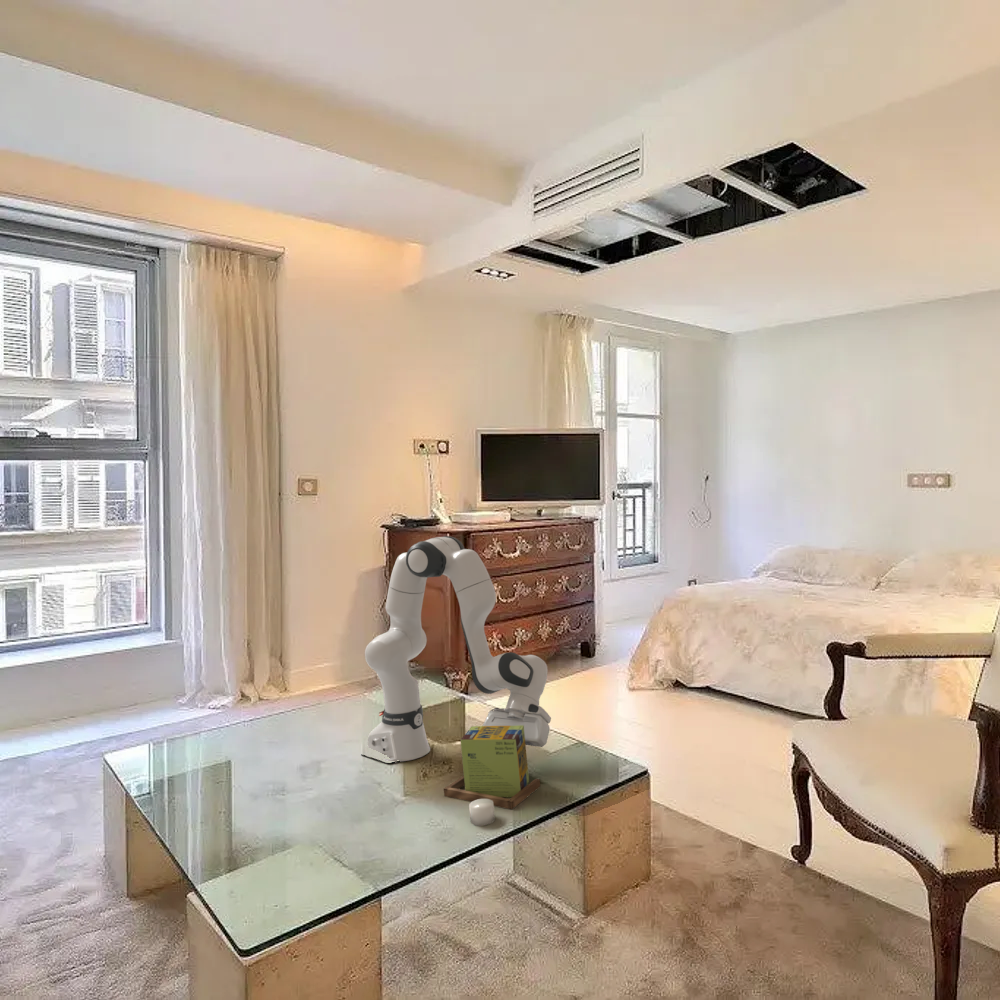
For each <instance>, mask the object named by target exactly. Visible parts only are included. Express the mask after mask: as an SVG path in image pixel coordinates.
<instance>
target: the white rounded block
mask: <svg viewBox="0 0 1000 1000" xmlns="http://www.w3.org/2000/svg"><path fill="white" fill-rule="evenodd" d="M468 809H469V818H470V819H469V820H470V824H472V825H474V826H477V827H478V826H479V827H482V825H484V826H488V825H491V824H492V823H493V822H495V820H496V818H495V817H496V814H495V806H494V803H493V801H492V800H490V799H477V800H474V801H470V803H469V804H468ZM487 824H488V825H487Z"/></svg>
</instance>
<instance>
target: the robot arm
mask: <svg viewBox="0 0 1000 1000" xmlns="http://www.w3.org/2000/svg"><path fill="white" fill-rule="evenodd" d="M441 576H445V577H447V578H448V579H449V580H450V582H451V584H452V586H453V589H454V592H455V595H456V598H457V601H458V605H459V609H460V622H461V623H460V624H461V628H462V631H463V636H464V639H465V644H466V648H467V651H468V654H469V658H470V663H471V675H472V676H471V677H472V680H473V683H474V686H475V687H476V688H477V689H478V691H480V692H481V693H483V694H485V695H486V694H487V695H489V694H490V695H491V694H495V693H496V692H497V693H498V692H499V691H501V690H505V689H506V690H509V691H510V693H509V696H508V700H507V703H506V706H505V708H503V707H502V708H500V707H494V708H492V709H491V710H489V711H488V714H487V716H486V718H485V720H484V722H483V723H482V726H518V725H523V726H524V735H525V745H526V746H532V747H539V748H543V747H544V746H545V745H547V742H548V738H549V735H550V734H549V733H550V725H549V724H550V723H551V721H552V717H551V716H550V714H549V713H548V712H547V711H546V710H545V709H544V708H543V707H542V706H540V698H541V696H542V695H543V693H544V691H545V687H546V683H547V679H548V673H549V671H548V665H547V663H546V661H545V660H544V659H542V658H541V657H539V656H538V655H534V654H526V655H520V654H518V653H516V652H513V651H509V652H504V653H500V654H497V655H496V656H493V655H492V654H491V650H490V648H489V643H488V641H487V640H488V639H487V636H486V633H485V623H486V620H487V618H488V616H489V615H490V613H491V612H492V611H493V609H494V607H495V605H496V601H497V593H496V589H495V586H494V584H493V581H492V578H491V576H490V574H489V572H488V569H487V567H486V566H485V563H484V562H483V560H482V559H481V557H480V555H479V553H478V552H476V551H475V550H473V549H469V548H468V549H467V548H465V546H464V544H463V543H462V541H460V540H459V539H458V538H456V537H454V536H448V535H447V536H446V535H444V536H436V537H431V538H429V539H426V540H423V541H422V540H421V541H418V542H416V543H414V544H413V545H412V546H410V548H409V549H408V550H407V552H402V553H401V554H399V555H398V556H397V558H396V560H395V563H394V565H393V568H392V571H391V575H390V578H389V585H388V590H387V596H386V602H385V606H384V607H385V612H386V614H387V615H388V616H389V621H390V623H389V625H390V626H389V629H388V630H387V631H386V632H384V633H381V634H379V635H376V637H373V639H372V640H371V641H370V642H369V643H368V644H367V645H366V647H365V649H364V659H365V662H366V663H367V665H368V667H370V668H369V669H372V670H373V671H374V672H375V673H376V675H377V676H378V678H379V681H380V684H381V687H382V693H383V695H382V696H383V701H384V703H383V704H384V709H383V710H382V711H379V715H378V716H379V717H382V719H381V722H379V724H377V725H376V726H375V727H374V728H372V730H371V731H370V732H369V734H368V736H367V746H368V748H371V749H373V750H376V751H378V752H380V753H382V754H384V755H387V757H389V758H390V759H383V760H385V761H397V760H399V761H400V762H406V761H407V762H408V761H412V760H416V759H419V758H422V757H424V756H425V755H428V753H430V752H431V747H430V745H429V744H430V743H429V740H428V739H427V738H428V737H427V733H426V729H425V724H424V712H423V705H422V703H421V696H420V687H419V681H418V680H417V678H416V677H414V676H412V674H411V672H410V668H409V661H411V660H413V659H414V658H416V657H418V656H419V654H421V653H422V651H423V650H424V649H425V647H426V645H427V641H428V638H427V635H426V632H425V630H424V629H423V627H422V609H423V603H424V596H425V592H426V591H425V590H426V584H427V580H428V578H439V577H441ZM384 758H385V757H384Z"/></svg>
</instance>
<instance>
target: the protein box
mask: <svg viewBox="0 0 1000 1000" xmlns="http://www.w3.org/2000/svg"><path fill="white" fill-rule="evenodd" d="M460 748H461V749H460V750H461V759H462V769H463V770H462V771H463V775H464V783H465V785H464V790H466V791H471V792H476V793H482V794H487V795H492V796H497V797H503V798H512V797H513V796H514V795H515V794H517V793H518V792H519V791H521V790H522V789H523V788H524V787H526V786H527V785H528V784H529V783H530V775H529V774H530V773H529V767H528V765H529V764H528V756H527V745H525V735H524V726H523V725H518V726H483V725H475V726H474V725H473V726H470V727H469V728H468V730H467V731H466V733H465V734H464V735H463V737H462V738H461V739H460Z"/></svg>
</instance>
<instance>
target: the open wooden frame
mask: <svg viewBox="0 0 1000 1000" xmlns="http://www.w3.org/2000/svg"><path fill="white" fill-rule="evenodd" d="M463 787H465V783H464V774H463V775H461V776H460V777H459V778H457V779H456V780H455V781H453V782H451V783H450V784H448V785H447V786H445V787H444V788H443V795H444V797H448V798H453V799H459V800H464V801H468V802H472V801H474V800H477V799H490V800H492V801H493V803H494V807H497V808H503V809H508V810H514V809H515V808H516V807H517V806H519V805H520V804H521V803H522V802H524V800H526V799H527V798H528V797H530V794H531V793H532V792H533V793H535V790H536V789H537V790H538V789H539V788H541V779H540V778H534V779H533V780H532V781H531V782H528V784H527V786H526V787H524V788H523V789H522V790H521V791H519V792H518V793H517V794H515V795H514V796H513V797H497V796H492V795H487V794H482V793H476V792H471V791H466V790H465V789H461V788H463ZM537 790H536V791H537ZM533 793H532V794H533ZM532 794H531V795H532ZM527 796H528V797H527Z"/></svg>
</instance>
